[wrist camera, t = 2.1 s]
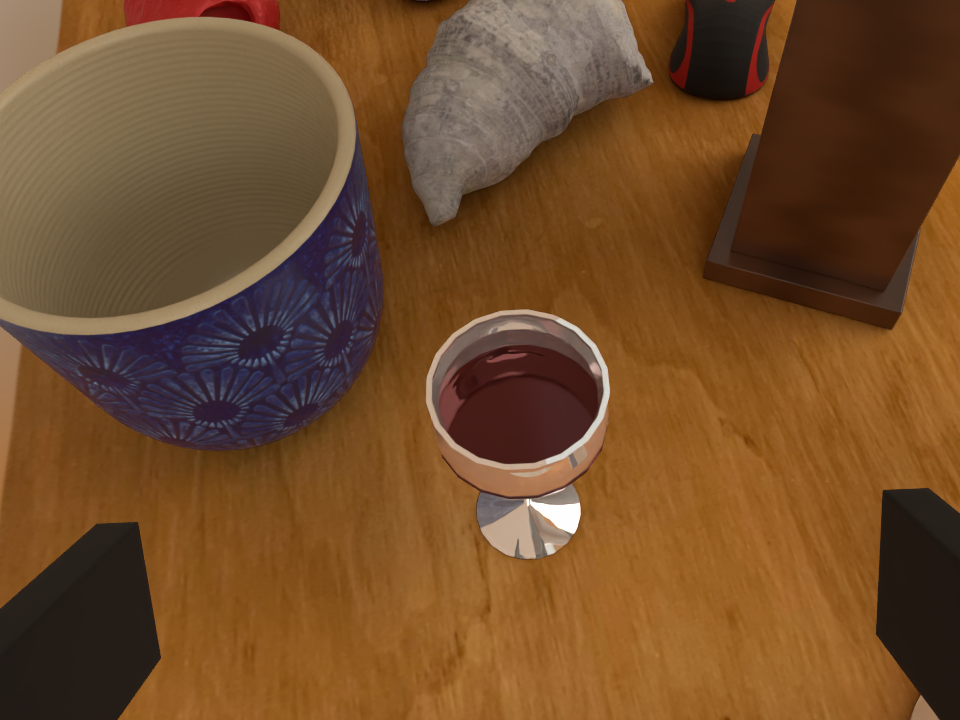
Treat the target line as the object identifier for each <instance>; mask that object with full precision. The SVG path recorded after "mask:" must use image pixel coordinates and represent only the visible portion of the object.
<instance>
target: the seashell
mask: <svg viewBox="0 0 960 720" xmlns="http://www.w3.org/2000/svg"><path fill="white" fill-rule="evenodd" d="M426 62H427V67H426V68H424V69H423V70H422V71H421V72H420V74H419V75H418V76H417V78H416V79H415V81H414V83H413V86H412V87H411V89H410V96H409V105H408V107H407V109H406V111H405V118H404V120H403V122H402V124H401V125H402V141H403V145H404V158H405V163H406V165H407V167H408V169H409V172H410V176H411V181H412V188H413V190H414V192H415V193H416V194H417V196H418V197H419V198H420V200H421V202H422V204H423V205H424V209H425V212H426V213H427V215H428V217H429V221H430V223H431V224H432V225H433V226H439V225H441V224H443V223H445V222H447V221H449V220H451V219H453V218H455V217H456V214H457V211H458V208H459V205H460V201H461V197H462V195H464V194H468V193H471V192H473V191H474V190H479V189H483V188H486V187H489V186H491V185H493V184H496V183H498V182H500V181H502V180H503V179H504V178H506V177H508V176H509V175H510V174H512V172H513V171H514V170H515V169H516V168H517V166H518V165H519V164H520V163H521V162H523V161H524V160H525V159H526V158H528V157H529V156H530V155H531V152H532V150H533V149H534V148H535V147H537V146H538V145H539V144H540V143H541V142H542V141H547V140H549V139H551V138H553V137H556V136H558V135H560V134H561V133H562V132H563V131H564V130H565V129H566V128H567V126H568V124H569V123H570V121H571V119H572V117H573V116H576V115H578V114H581V113H583V112H585V111H588V110H590V109H591V108H593V107H595V106H596V105H598V104H599V103H601V102H602V101H605V100H607V99H617V98H626V97H628V96H630V95H632V94H634V93H636V92H637V91H639V90H642V89H644V88H646V87H648V86H650V85H651V84H653V83H654V82H653V79H652V77H651V73H650V71H649V70H648V69H647V67H646V65H645V61H644V59H643V56H642V55H641V54H640V52H639V51H638V46H637V41H636V39H635V36H634V31H633V28H632V26H631V24H630V21H629V18H628V16H627V13H626V9H625V5H624V3H623V2H622V1H621V0H469V2H468V3H467V4H466V6H465V7H463V8H461V9H460V10H458V11H456V12H455V13H454V14H453V15H452V16H451V17H450V18H449V19H447V20H445V21H443V22H441V23H440V24H439V26H438V29H437V34H436V38H435V40H434V43H433V46H432V48H431V49H430V50H429V52H428V54H427V59H426Z"/></svg>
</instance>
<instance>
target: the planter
mask: <svg viewBox="0 0 960 720" xmlns="http://www.w3.org/2000/svg"><path fill="white" fill-rule="evenodd" d="M382 305H383V275H382V265H381V259H380V253H379V248H378V242H377V236H376V230H375V225H374V219H373V213H372V208H371V202H370V196H369V190H368V185H367V179H366V173H365V168H364V162H363V156H362V150H361V145H360V139H359V133H358V128H357V122H356V117H355V112H354V107H353V104H352V101H351V99H350V96H349V93H348V91H347V89H346V87H345V85H344V84H343V82H342V80H341V78H340V77H339V75H338V74H337V73H336V71H335V70H334V69H333V68H332V66H331V65H330V64H329V63H328V62H327V61H326V60H325V59H324V58H323V57H322V56H321V55H320V54H318V53H317V52H316V51H314V50H313V49H312V48H310V47H309V46H308V45H306V44H305V43H303V42H301V41H299V40H298V39H296V38H294V37H293V36H290V35H288V34H286V33H284V32H281V31H279V30H277V29H274V28H271V27H268V26H265V25H261V24H257V23H253V22H248V21H244V20H237V19H230V18H217V17H186V18H173V19H166V20H159V21H152V22H147V23H142V24H137V25H133V26H129V27H125V28H122V29H118V30H115V31H111V32H108V33H106V34H103V35H100V36H97V37H94V38H92V39H89V40H87V41H84V42H82V43H79V44H77V45H75V46H73V47H71V48H69V49H67V50H65V51H62V52H60V53H58V54H56V55H55V56H53V57H51V58H49V59H48V60H46V61H44V62H42V63H41V64H39V65H37V66H36V67H34V68H33V69H31V70H30V71H28V72H27V73H25V74H24V75H22V76H21V77H20V78H18V79H17V80H16V81H14V82H13V83H12V84H11V85H9V86H8V87H7V88H6V89H5V90H3V91H2V92H1V93H0V326H1V327H2V328H4V329H5V330H6V331H7V332H9V333H10V334H11V335H12V336H13V337H14V338H16V339H17V340H18V341H19V342H20V343H22V344H23V345H24V346H25V347H27V348H28V349H29V350H30V351H31V352H33V353H34V354H35V355H36V356H38V357H39V358H40V359H41V360H42V361H44V362H45V363H46V364H47V365H49V366H50V367H51V368H52V369H54V370H55V371H56V372H57V373H58V374H60V375H61V376H62V377H63V378H65V379H66V380H67V381H68V382H69V383H71V384H72V385H73V386H74V387H76V388H77V389H78V390H79V391H80V392H82V393H83V394H84V395H85V396H87V397H88V398H89V399H90V400H91V401H93V402H94V403H95V404H96V405H98V406H99V407H100V408H101V409H103V410H104V411H105V412H107V413H108V414H110V415H111V416H112V417H114V418H115V419H116V420H118V421H119V422H121V423H123V424H124V425H126V426H128V427H130V428H132V429H133V430H135V431H137V432H139V433H141V434H143V435H146V436H148V437H151V438H153V439H156V440H159V441H161V442H164V443H168V444H172V445H175V446H179V447H185V448H191V449H197V450H208V451H225V450H239V449H246V448H252V447H256V446H261V445H265V444H268V443H271V442H274V441H277V440H280V439H282V438H284V437H287V436H289V435H291V434H293V433H295V432H297V431H299V430H301V429H303V428H305V427H306V426H308V425H309V424H311V423H312V422H314V421H315V420H317V419H318V418H320V417H321V416H322V415H323V414H325V413H326V412H327V411H328V410H330V409H331V408H332V407H333V406H334V405H335V404H336V403H337V402H338V401H339V400H340V399H341V398H342V397H343V396H344V395H345V393H346V392H347V391H348V390H349V389H350V387H351V386H352V384H353V383H354V382H355V380H356V379H357V377H358V376H359V374H360V373H361V371H362V369H363V367H364V366H365V364H366V362H367V360H368V358H369V355H370V353H371V351H372V348H373V346H374V343H375V340H376V336H377V333H378V329H379V324H380V319H381V313H382Z"/></svg>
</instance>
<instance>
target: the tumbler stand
mask: <svg viewBox="0 0 960 720" xmlns="http://www.w3.org/2000/svg"><path fill="white" fill-rule="evenodd" d="M959 156H960V0H797V2H796V5H795V9H794V13H793V17H792V20H791V24H790V28H789V32H788V36H787V39H786V43H785V47H784V51H783V54H782V58H781V62H780V66H779V69H778V73H777V77H776V81H775V84H774V88H773V92H772V96H771V99H770V103H769V107H768V111H767V114H766V118H765V122H764V126H763V129H762V133H761V135H758V134H752V137H751V140H750V142H749V145H748V148H747V151H746V153H745V156H744V159H743V162H742V164H741V167H740V170H739V173H738V175H737V178H736V181H735V184H734V186H733V189H732V192H731V195H730V197H729V200H728V203H727V206H726V208H725V211H724V214H723V217H722V219H721V222H720V225H719V228H718V230H717V233H716V236H715V239H714V241H713V244H712V247H711V250H710V252H709V255H708V258H707V261H706V265H705V269H704V274H703V278H706V279H709V280H713V281H717V282H720V283H724V284H728V285H731V286H735V287H739V288H742V289H746V290H749V291H753V292H757V293H760V294H764V295H768V296H771V297H775V298H778V299H782V300H786V301H789V302H793V303H797V304H800V305H804V306H808V307H811V308H815V309H818V310H822V311H826V312H829V313H833V314H837V315H840V316H844V317H848V318H851V319H855V320H858V321H862V322H866V323H869V324H873V325H877V326H880V327H884V328H887V329H893V327H894V325H895V324H896V322H897V320H898V319H899V317H900V315H901V314H902V311H903V306H904V302H905V297H906V293H907V288H908V283H909V279H910V274H911V270H912V265H913V261H914V256H915V252H916V247H917V242H918V238H919V233H920V229H921V225H922V223H923V222H924V220H925V218H926V216H927V214H928V212H929V211H930V209H931V207H932V205H933V203H934V201H935V200H936V198H937V196H938V194H939V192H940V190H941V189H942V187H943V185H944V183H945V181H946V179H947V178H948V176H949V174H950V172H951V170H952V168H953V167H954V165H955V163H956V161H957V159H958V158H959Z"/></svg>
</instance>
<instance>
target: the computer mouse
mask: <svg viewBox="0 0 960 720" xmlns="http://www.w3.org/2000/svg"><path fill="white" fill-rule="evenodd" d="M774 2H775V0H686V15H685V24H684V28H683V30H682V32H681V34H680V36H679V38H678V40H677V42H676V45H675V47H674V49H673V51H672V54H671V57H670V61H669V74H670V76H671V78H672V80H673V82H674V83H675V84H676V85H677V86H678V87H680V88H681V89H683V90H684V91H687V92H689V93H691V94H694V95H697V96H701V97H705V98H711V99H735V98H741V97H745V96H748V95H750V94H753V93H754V92H756V91H758V90H759V89H760V88H761V87H762V86H763V84H764V83H765V81H766V79H767V77H768V72H769V59H768V49H767V40H766V25H767V21H768V18H769V15H770V13H771V10H772V7H773V4H774Z"/></svg>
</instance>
